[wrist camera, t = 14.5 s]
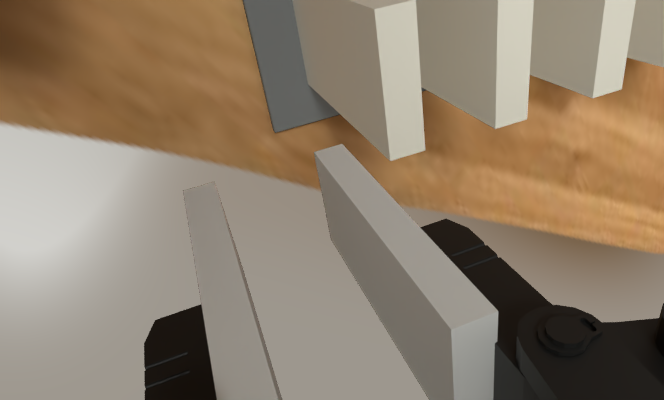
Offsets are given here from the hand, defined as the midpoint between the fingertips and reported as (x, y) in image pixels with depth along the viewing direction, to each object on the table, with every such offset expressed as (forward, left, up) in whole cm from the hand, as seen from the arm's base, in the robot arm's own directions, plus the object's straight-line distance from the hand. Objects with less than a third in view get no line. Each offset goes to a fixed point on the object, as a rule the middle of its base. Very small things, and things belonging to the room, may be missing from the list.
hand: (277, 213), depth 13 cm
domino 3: (+8, +14, -18) cm, 24 cm away
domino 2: (+6, +10, -18) cm, 21 cm away
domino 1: (+3, +6, -18) cm, 19 cm away
